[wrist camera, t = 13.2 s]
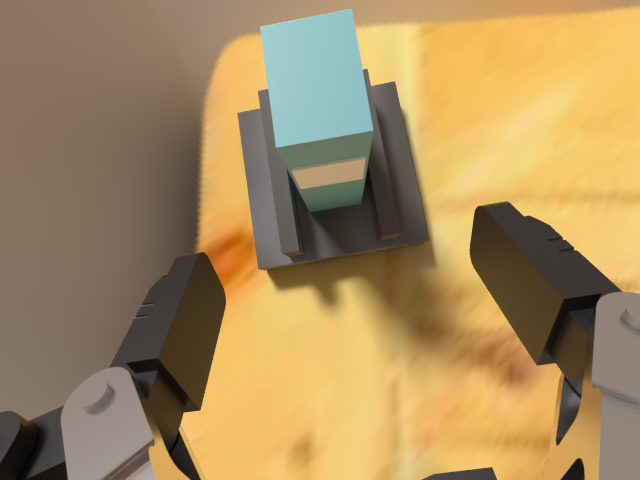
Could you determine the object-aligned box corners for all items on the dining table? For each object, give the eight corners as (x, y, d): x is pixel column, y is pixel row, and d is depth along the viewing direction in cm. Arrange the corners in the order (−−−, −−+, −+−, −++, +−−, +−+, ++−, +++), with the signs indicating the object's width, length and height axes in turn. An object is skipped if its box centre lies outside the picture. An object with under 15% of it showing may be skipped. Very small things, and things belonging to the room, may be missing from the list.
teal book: (349, 135, 26) (351, 8, 14) (361, 205, 25) (373, 134, 13) (300, 144, 26) (260, 26, 14) (310, 213, 25) (276, 151, 13)
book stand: (391, 95, 28) (400, 55, 23) (422, 243, 26) (440, 233, 21) (245, 124, 29) (223, 91, 24) (265, 270, 27) (246, 267, 22)
